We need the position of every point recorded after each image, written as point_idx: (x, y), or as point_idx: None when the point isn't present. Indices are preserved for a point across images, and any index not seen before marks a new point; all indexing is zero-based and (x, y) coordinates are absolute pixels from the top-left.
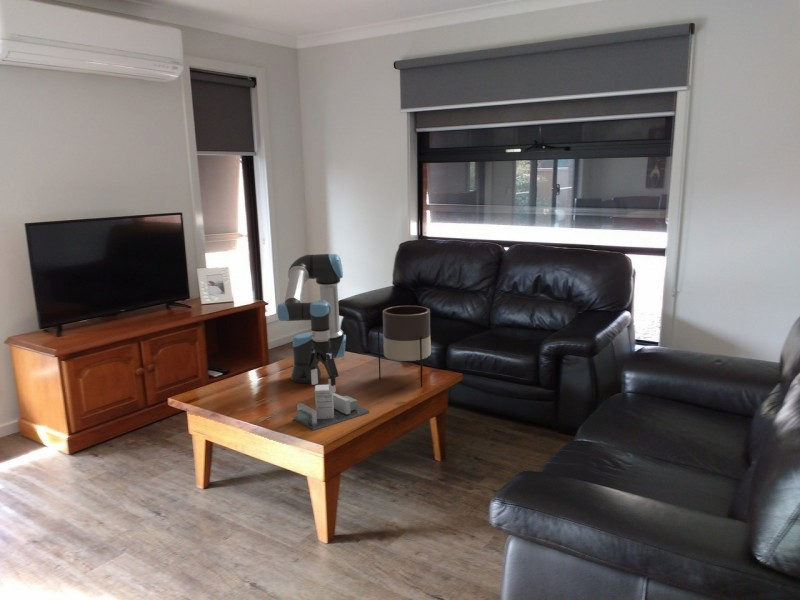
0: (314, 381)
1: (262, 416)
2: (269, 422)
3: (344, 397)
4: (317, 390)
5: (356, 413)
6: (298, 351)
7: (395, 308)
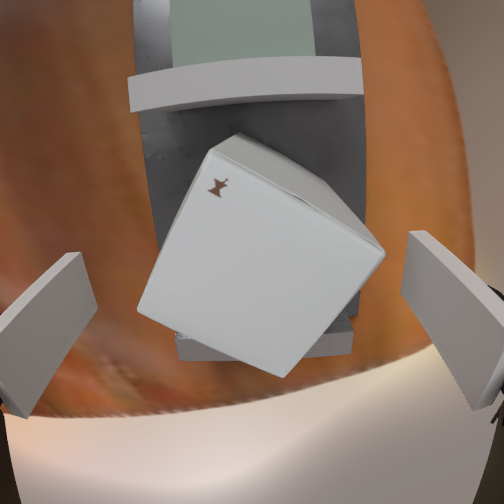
0: (78, 305)
1: (97, 373)
2: (162, 384)
3: (284, 57)
4: (293, 362)
5: (347, 43)
6: None
7: None
